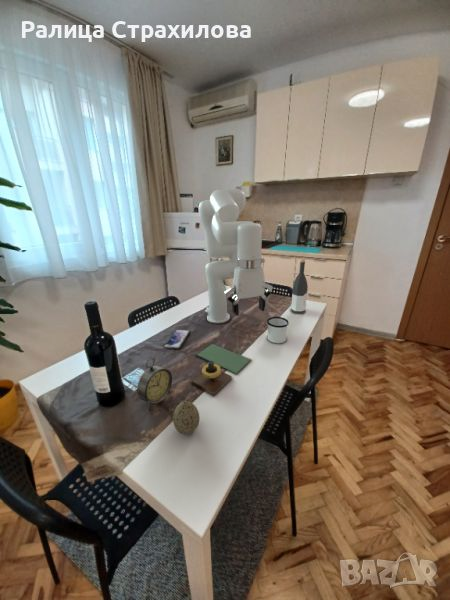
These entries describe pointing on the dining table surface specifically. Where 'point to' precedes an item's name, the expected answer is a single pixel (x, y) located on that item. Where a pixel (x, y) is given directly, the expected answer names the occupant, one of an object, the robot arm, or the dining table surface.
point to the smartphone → (177, 339)
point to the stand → (212, 380)
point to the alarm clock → (154, 384)
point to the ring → (211, 375)
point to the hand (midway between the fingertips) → (248, 311)
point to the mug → (277, 329)
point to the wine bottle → (299, 291)
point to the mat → (224, 358)
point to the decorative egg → (186, 417)
